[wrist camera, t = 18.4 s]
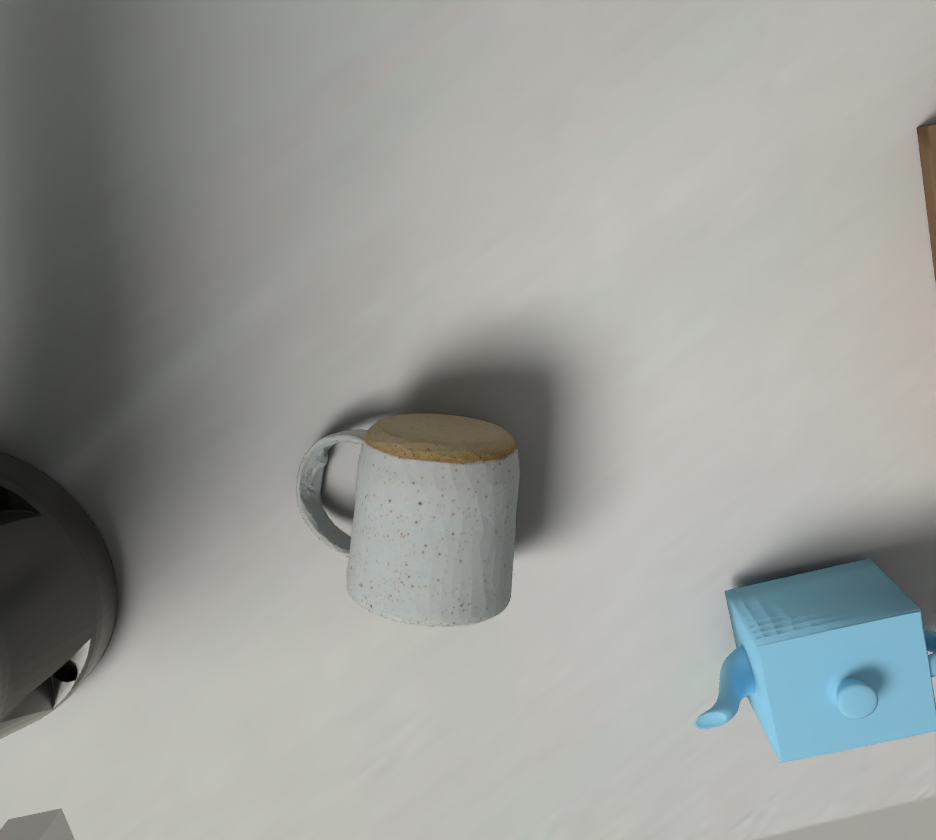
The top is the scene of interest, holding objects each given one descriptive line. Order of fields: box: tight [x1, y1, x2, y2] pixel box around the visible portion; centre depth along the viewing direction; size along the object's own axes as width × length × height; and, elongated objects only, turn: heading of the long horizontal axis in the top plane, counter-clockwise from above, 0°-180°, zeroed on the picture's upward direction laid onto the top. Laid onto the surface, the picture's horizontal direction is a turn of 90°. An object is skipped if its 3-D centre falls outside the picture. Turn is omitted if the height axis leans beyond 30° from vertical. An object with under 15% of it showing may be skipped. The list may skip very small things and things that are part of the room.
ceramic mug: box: [296, 413, 520, 627], centre depth 40 cm, size 11×8×8 cm
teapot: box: [694, 558, 936, 762], centre depth 42 cm, size 12×6×8 cm, turn 105°
